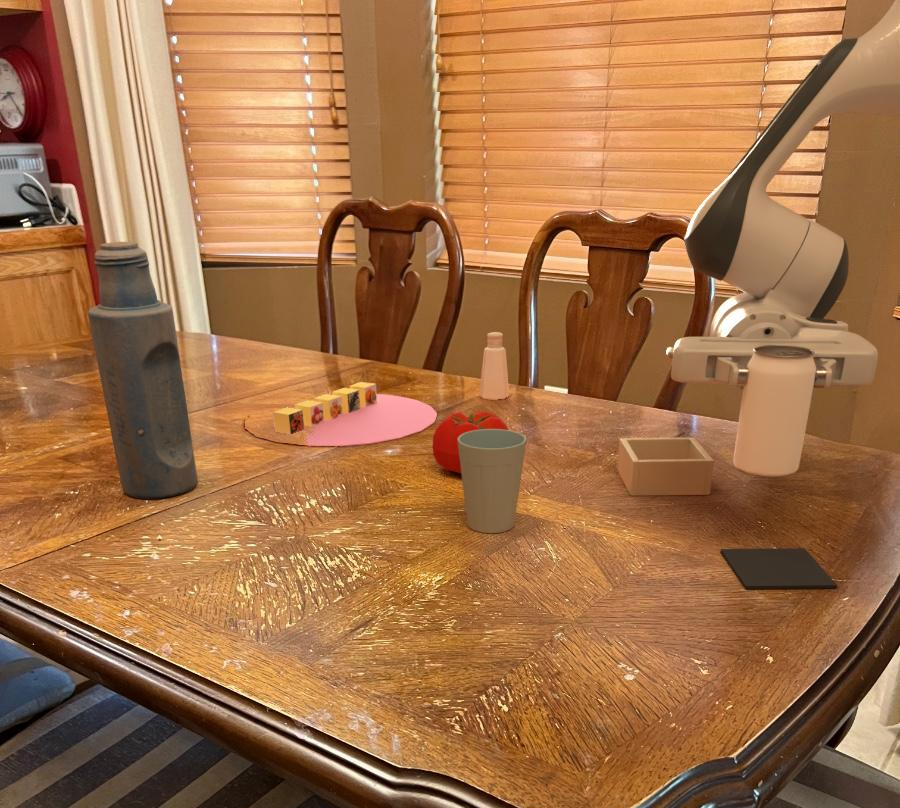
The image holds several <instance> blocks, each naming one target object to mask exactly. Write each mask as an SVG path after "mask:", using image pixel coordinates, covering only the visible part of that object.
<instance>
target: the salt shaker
mask: <svg viewBox="0 0 900 808" xmlns="http://www.w3.org/2000/svg"><path fill="white" fill-rule="evenodd" d="M486 337H487V347H485V348H484V349H483V355H482V367H481V374H480V384H479V394H478V395H479V397H480V398H481V399H482V400H487V401H499V400H498V399H502V400H505V398H506V397H507V398H509V397H510V385H509V374H508V363H507V362H508V360H507V350H506V347H504V346H503V338H504V334H503V333H502V332H499V331H492V332H488V333H487V334H486ZM508 396H509V397H508ZM507 398H506V399H507Z"/></svg>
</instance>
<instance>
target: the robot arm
mask: <svg viewBox="0 0 900 808" xmlns="http://www.w3.org/2000/svg"><path fill="white" fill-rule="evenodd" d="M840 114H861V115H871V116H873V115H874V116H887V117H900V0H894V1H893V3H892V4H891V6H890V8H889V9H888V10H887V12H886V13H885V14H884V16H883V17H882V18H881V19H880V20H879V21H878V22H877V23H876V24H875V25H874V26H873V27H872V28H870V29H869V30H868V31H867V32H865V33H864V34H863V35H861V36H859V37H854V38H843V39H842V40H841V41H840V42H838V43H837V44H835V45H834V46H833V47H832V48H831V49H830V50H828V52H827V53H825V55H824V56H823V57H822V58H820V60H819V61H818V62H817V63H815V66H813V67H812V69H811V70H810V71H809V72H808V74H807V75H806V76H805V78H804V79H803V80H802V81H801V82H800V84H799V85H798V86H797V87H796V89H795V90H794V91H793V92H792V93H791V94H790V96H789V97H788V98H787V100H785V102H784V103H783V104H782V106H781V107H780V109H779V110H778V112H777V113H775V115H774V116H773V118H772V119H771V121H770V122H769V123H768V124H767V125H766V127H765V128H764V129H763V131H762V132H761V133H760V135H759V136H758V137H757V138H756V140H755V141H754V142H753V143H752V145H751V146H750V147H749V148H748V150H747V151H746V153H745V154H744V155H743V157H742V158H741V159H740V160H739V162H738V163H737V164H736V165H735V167H734V168H732V170H731V172H730V173H729V174H728V175H727V177H726V178H725V179H724V180H723V182H721V183H720V184H719V185H718V186H717V187H716V188H715V189H714V190H713V191H712V192H711V193H710V194H709V195H708V196H707V197H706V198H705V199H704V201H703V202H702V203H701V204H700V205H699V207H698V208H697V209H696V211H695V212H694V214H693V216H692V218H691V219H690V222H689V224H688V226H687V229H686V233H685V235H684V238H683V241H684V245H685V250H686V254H687V256H688V260H689V262H690V265H691V267H692V268H693V270H694V271H695V272H698V273H700V274H703V275H705V276H708V277H710V278H712V279H715V280H717V281H720V282H724V283H727V284H728V285H730V286H732V287H734V288H736V289H738V290H739V291H741V292H742V293H739V294H736V295H733V296H730V297H729V298H727V299H726V300H725V301H724V302H723V303H722V304H721V305H720V306H719V307H718V309H717V310H716V312H715V314H714V316H713V317H712V320H711V325H710V329H709V336H684V337H681V338H678V339H676V341H675V343H674V346H669V347H667V348H666V350H665V355H666V358H667V359H668V360H672V361H671V373H670V377H671V379H672V380H673V381H674V382H676V383H677V382H678V383H682V384H683V383H684V384H726V385H727V384H729V385H730V386H731V387H736V388H738V389H740V390H741V391H743V388H744V386H746V385H747V379H746V378H747V376H748V373H749V368H748V367H747V364H748V362H749V361H750V359H751V358H752V356H753V354H754V348H756V347H759V346H765V345H790V346H798V347H804V348H808V349H811V350H813V351H814V352H815V354H814V355H813V359H814V363H815V366H816V374H815V380H814V386H813V389H814V388H816V389H817V388H818V389H829V388H830V387H867V386H869V385H871V384H872V383H873V381H874V379H875V374H876V370H877V365H878V359H879V352H878V348H876V346H875V345H874V344H873V343H871V342H870V341H869V340H867V339H866V338H864V337H863V336H862V335H860V334H858V333H855V332H852V331H849V324H848V323H847V322H845V321H842V320H836V319H835V320H834V319H827V318H825V317H826V316H827V315H828V313H829V312H830V311H831V310H832V308H833V307H834V306H835V304H836V303H837V301H838V299H839V298H840V295H841V294H842V292H843V290H844V288H845V285H846V284H847V281H848V277H849V269H850V267H849V265H850V263H849V262H850V260H849V259H850V258H849V255H850V254H849V248H848V244H847V241H846V239H845V237H842V236H841V235H839V234H837V233H836V232H834V231H832V230H830V229H829V228H827V227H825V226H823V225H821V224H820V223H818V222H816V221H814V220H813V219H810V218H807V217H805V216H803V215H801V214H800V213H798V212H796V211H794V210H792V209H791V208H789V207H787V206H785V205H783V204H781V203H780V202H778V201H776V200H774V199H773V198H771V197H770V196H769V195H768V193H767V187H768V185H769V184H770V182H771V181H772V180H773V179H774V177H775V176H776V175H777V174H778V172H779V171H780V170H781V169H782V168H783V166H784V165H785V164H786V163H787V162H788V160H789V159H790V158H791V156H792V155H793V154H794V153H795V152H796V150H797V149H798V147H799V146H800V145H801V144H802V142H803V141H804V140H805V139H806V138H807V136H808V135H809V134H810V132H811V131H812V130H813V129H814V128H815V127H816V126H817V125H818V124H819V123H820V122H821V121H823V120H824V119H826V118H829V117H831V116H834V115H835V116H836V115H840Z"/></svg>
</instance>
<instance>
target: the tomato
mask: <svg viewBox="0 0 900 808" xmlns="http://www.w3.org/2000/svg"><path fill="white" fill-rule="evenodd" d="M481 429H503V430H509V427H508V426H507V424H506V423H505V422H504V421H503V419H502V418H500V417H499V416H498V415H497V414H496V413H493V412H491V411H485V410H482V411H477V412H475V413H473V412H470V414H469V416H466V415H465V414H464V413H462V412H461V411H456V412H453V413H451V414H449V415H448V416H446V418H445V419H443V420H442V421H441V422H440V424H438V425H437V426H436V427H435V430H434V432H433V435H432V454H433V457H434V460H435V461H436V463H437V464H438V465H440V466H441V468H443V469H444V470H447V471H448V472H456V473H458V474H461V475H462V473H461V465H460V456H459V448H458V437H459V436H460V435H461V434H463V433H466V432H469V431H474V430H481Z"/></svg>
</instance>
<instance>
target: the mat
mask: <svg viewBox="0 0 900 808" xmlns="http://www.w3.org/2000/svg"><path fill="white" fill-rule="evenodd" d="M720 554H721V555H722V557H723V558H724V560H725V561H726V562H727V564H728V566H729V567H730V569H731V570H732V572H733V573H734V574H735V576H736V577H737V579H738V581H739V582H740V583H741V585H742V586H743V588H744V589H745V590H815V589H816V590H818V589H819V590H826V589H827V590H829V589H831V590H832V589H833V590H834V589H836V590H837V588H838V584H837V583H836V582H835V581H834V580H833V579H832V577H831V576H830V575H829V574H828V573H827V572H826V570H825V569H823V567H822V566H821V565H820V564H819V563H818V561H817V560H815V559H814V557H813V556H812V555H811V554H810V553H809V551H808V550H807V549H806V548H805V547H792V548H791V547H790V548H789V547H787V548H785V547H783V548H782V547H781V548H720Z"/></svg>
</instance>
